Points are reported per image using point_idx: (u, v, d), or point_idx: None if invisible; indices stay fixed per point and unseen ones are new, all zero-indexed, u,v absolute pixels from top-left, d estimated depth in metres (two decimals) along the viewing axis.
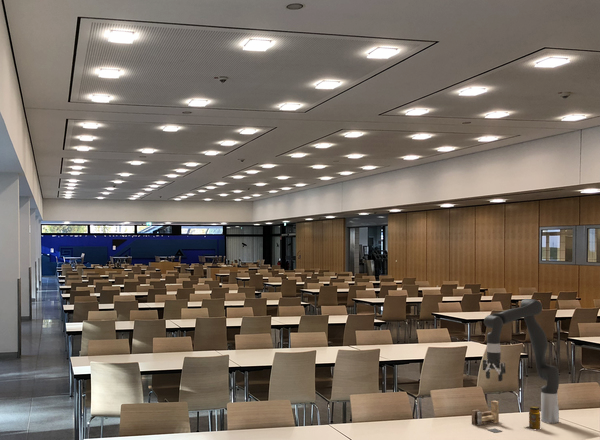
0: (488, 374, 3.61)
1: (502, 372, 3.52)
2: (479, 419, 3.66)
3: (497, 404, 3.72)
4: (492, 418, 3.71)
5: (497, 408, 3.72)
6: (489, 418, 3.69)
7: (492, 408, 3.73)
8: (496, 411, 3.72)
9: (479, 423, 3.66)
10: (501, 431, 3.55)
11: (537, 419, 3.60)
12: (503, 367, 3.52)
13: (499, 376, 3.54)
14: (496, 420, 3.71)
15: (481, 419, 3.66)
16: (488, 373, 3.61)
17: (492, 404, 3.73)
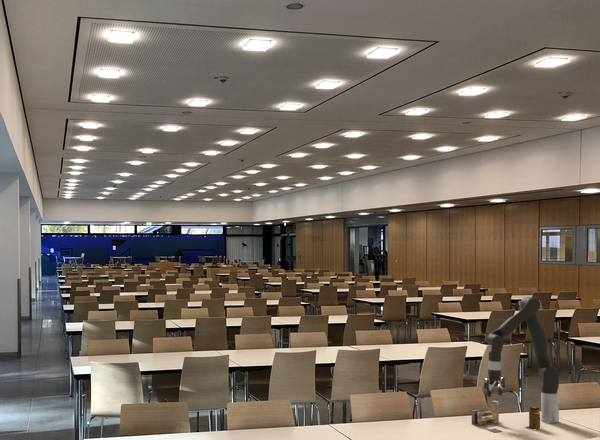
0: None
1: (504, 386, 3.76)
2: (479, 419, 3.66)
3: (497, 404, 3.72)
4: (492, 418, 3.71)
5: (497, 408, 3.72)
6: (489, 418, 3.69)
7: (492, 408, 3.73)
8: (496, 411, 3.72)
9: (479, 423, 3.66)
10: (501, 431, 3.55)
11: (537, 419, 3.60)
12: None
13: (501, 391, 3.75)
14: (496, 420, 3.71)
15: (481, 419, 3.66)
16: None
17: (492, 404, 3.73)
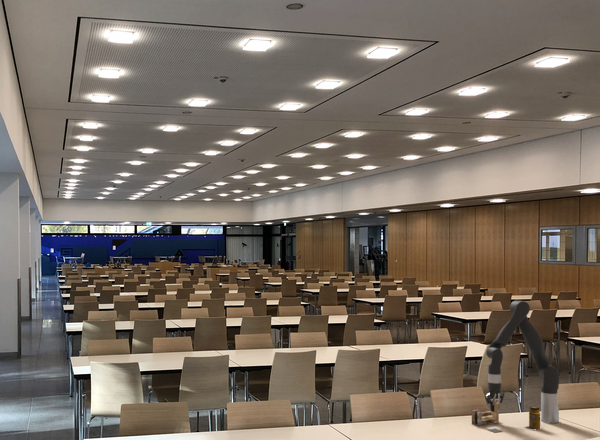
0: None
1: (501, 401, 3.74)
2: (479, 419, 3.66)
3: (497, 404, 3.72)
4: (492, 418, 3.71)
5: (497, 408, 3.72)
6: (489, 418, 3.69)
7: None
8: (496, 411, 3.72)
9: (479, 423, 3.66)
10: (501, 431, 3.55)
11: (537, 419, 3.60)
12: None
13: None
14: (496, 420, 3.71)
15: (481, 419, 3.66)
16: None
17: None
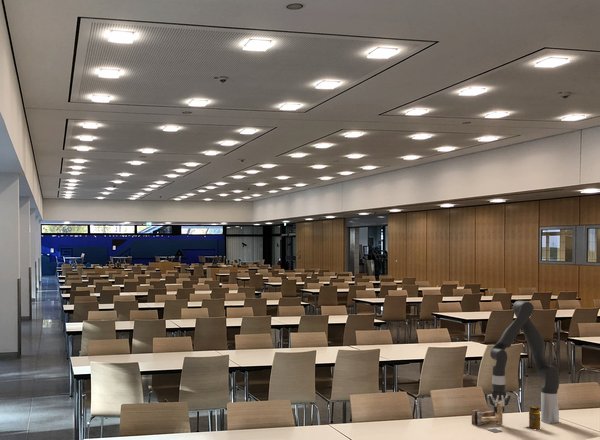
0: None
1: (507, 403, 3.69)
2: (478, 419, 3.66)
3: (501, 406, 3.68)
4: (495, 419, 3.68)
5: (501, 410, 3.68)
6: (491, 419, 3.67)
7: None
8: (499, 413, 3.68)
9: (478, 423, 3.66)
10: (501, 431, 3.55)
11: (537, 419, 3.60)
12: None
13: (503, 408, 3.69)
14: (499, 422, 3.68)
15: (480, 419, 3.66)
16: None
17: None
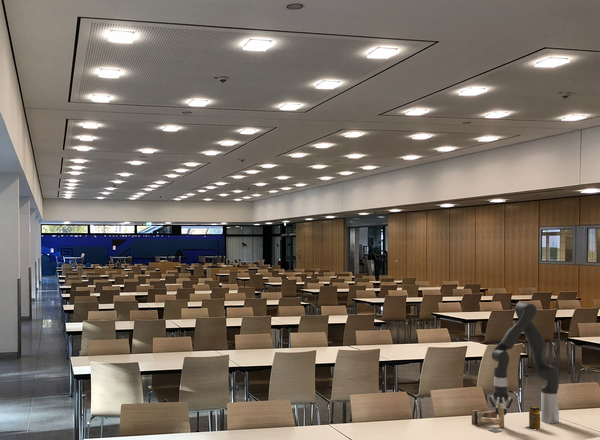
0: None
1: (509, 406, 3.62)
2: (478, 419, 3.67)
3: (502, 408, 3.63)
4: (496, 421, 3.64)
5: (502, 412, 3.63)
6: (491, 420, 3.65)
7: (498, 411, 3.65)
8: (500, 415, 3.63)
9: (478, 423, 3.67)
10: (501, 431, 3.55)
11: (537, 419, 3.60)
12: (511, 402, 3.62)
13: (505, 410, 3.63)
14: (500, 424, 3.63)
15: (479, 419, 3.66)
16: None
17: (498, 407, 3.65)
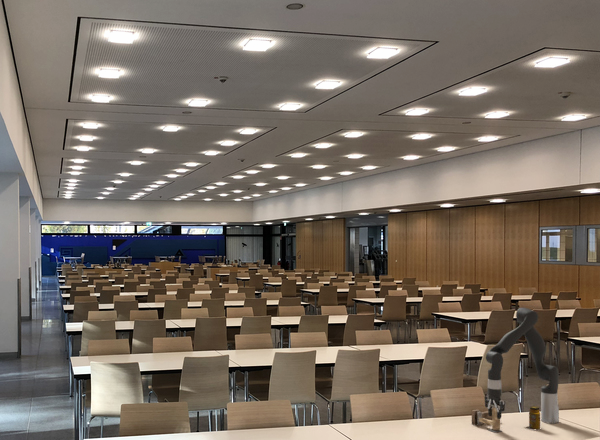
0: (490, 411, 3.59)
1: (501, 410, 3.51)
2: (477, 418, 3.67)
3: (495, 411, 3.56)
4: (490, 423, 3.59)
5: (495, 415, 3.56)
6: (487, 422, 3.61)
7: None
8: (494, 418, 3.57)
9: None
10: (501, 431, 3.55)
11: (537, 419, 3.60)
12: (502, 405, 3.51)
13: (498, 414, 3.53)
14: (494, 427, 3.56)
15: (478, 418, 3.66)
16: (490, 410, 3.60)
17: None
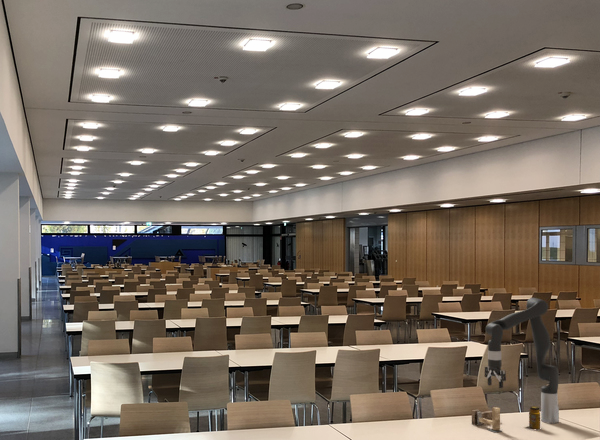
0: (490, 381, 3.67)
1: (502, 379, 3.57)
2: (477, 418, 3.67)
3: (495, 411, 3.56)
4: (490, 423, 3.59)
5: (495, 415, 3.56)
6: (487, 422, 3.61)
7: None
8: (494, 418, 3.57)
9: None
10: (501, 431, 3.55)
11: (537, 419, 3.60)
12: (503, 374, 3.58)
13: (500, 383, 3.59)
14: (494, 427, 3.56)
15: (478, 418, 3.66)
16: (490, 380, 3.67)
17: None
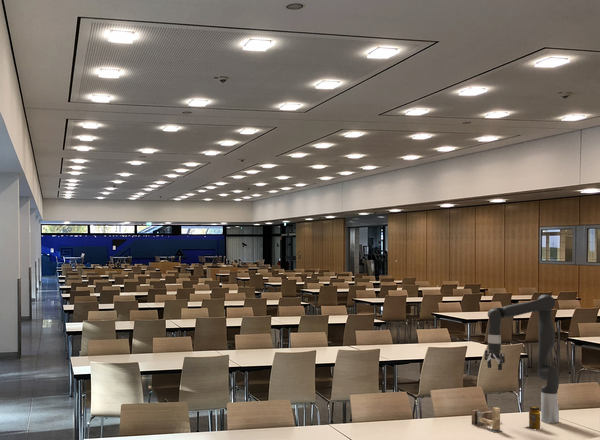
0: (489, 364, 3.86)
1: (501, 362, 3.76)
2: (477, 418, 3.67)
3: (495, 411, 3.56)
4: (490, 423, 3.59)
5: (495, 415, 3.56)
6: (487, 422, 3.61)
7: None
8: (494, 418, 3.57)
9: None
10: (501, 431, 3.55)
11: (537, 419, 3.60)
12: (502, 357, 3.76)
13: (499, 365, 3.78)
14: (494, 427, 3.56)
15: (478, 418, 3.66)
16: (489, 363, 3.86)
17: None
